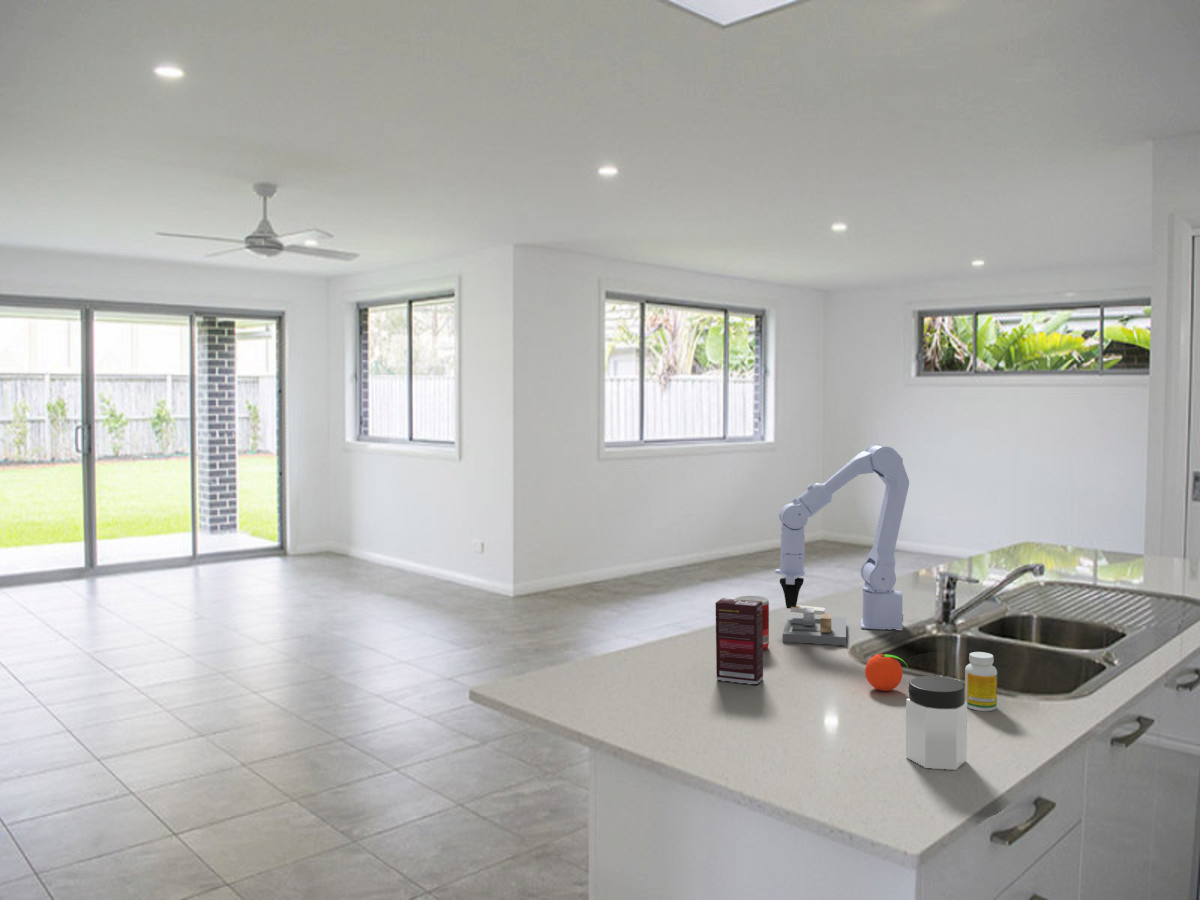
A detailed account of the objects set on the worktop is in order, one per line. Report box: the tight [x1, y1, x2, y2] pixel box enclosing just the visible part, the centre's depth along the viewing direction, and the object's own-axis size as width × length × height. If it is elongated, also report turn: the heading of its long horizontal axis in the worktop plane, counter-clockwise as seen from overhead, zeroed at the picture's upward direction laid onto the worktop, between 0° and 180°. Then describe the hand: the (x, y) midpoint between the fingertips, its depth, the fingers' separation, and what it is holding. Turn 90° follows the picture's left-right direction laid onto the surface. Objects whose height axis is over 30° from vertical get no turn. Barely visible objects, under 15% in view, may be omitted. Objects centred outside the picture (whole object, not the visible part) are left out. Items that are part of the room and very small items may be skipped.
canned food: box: [734, 595, 770, 652], centre depth 205 cm, size 8×8×11 cm
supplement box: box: [714, 597, 764, 685], centre depth 182 cm, size 9×5×16 cm, turn 65°
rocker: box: [790, 604, 826, 616], centre depth 223 cm, size 8×4×1 cm, turn 75°
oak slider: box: [819, 613, 832, 633], centre depth 211 cm, size 2×4×3 cm, turn 165°
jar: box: [905, 675, 968, 771], centre depth 141 cm, size 9×8×12 cm
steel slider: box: [802, 608, 816, 626], centre depth 217 cm, size 2×4×3 cm, turn 165°
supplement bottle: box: [964, 651, 998, 712], centre depth 165 cm, size 5×5×10 cm
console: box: [782, 614, 847, 646], centre depth 217 cm, size 14×19×3 cm
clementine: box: [864, 653, 909, 692], centre depth 175 cm, size 8×7×7 cm
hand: (791, 608), depth 224 cm, fingers closed, pressing on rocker
